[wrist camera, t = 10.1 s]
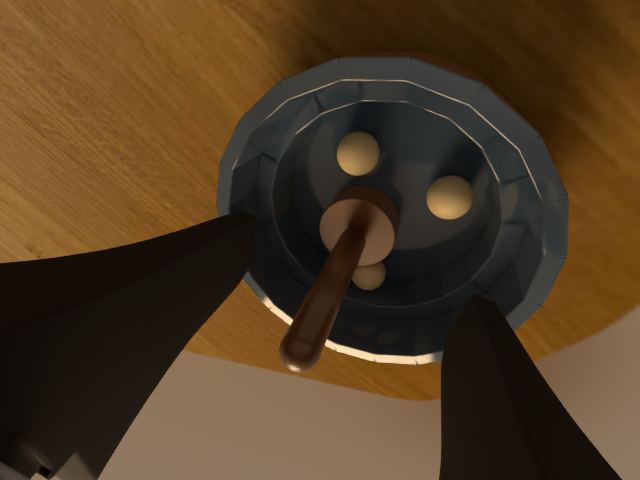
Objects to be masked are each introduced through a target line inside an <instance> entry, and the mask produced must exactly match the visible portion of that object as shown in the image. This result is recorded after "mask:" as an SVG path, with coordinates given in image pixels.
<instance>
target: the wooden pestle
mask: <svg viewBox="0 0 640 480" xmlns="http://www.w3.org/2000/svg"><path fill="white" fill-rule="evenodd" d="M398 228H399V213H398V210H397V208H396V206H395V204H394V203H393V201H392V200H391V199H390V198H389V197H388V196H387V195H386V194H384V193H383V192H382V191H380V190H378V189H375V188H373V187H369V186H353V187H349V188H347V189H344V190H343V191H341V192H340V193H339V194H337V196H336V197H335V198H334V199H333V201H332V202H331V203H330V205H329V206H328V207H327V209H326V210H325V212H324V213H323V215H322V217H321V220H320V235H321V239H322V241H323V243H324V245H325V247H326V248H327V249H328V250H329V252H330V255H329V257H328V259H327V260H326V262H325V264H324V266H323V268H322V269H321V271H320V273H319V275H318V277H317V278H316V280H315V282H314V284H313V286H312V287H311V289H310V291H309V293H308V295H307V296H306V298H305V300H304V302H303V303H302V305H301V307H300V309H299V311H298V312H297V314H296V316H295V318H294V320H293V321H292V323H291V325H290V327H289V329H288V330H287V332H286V334H285V336H284V338H283V339H282V342H281V344H280V348H279V355H280V359H281V362H282V363H283V365H284V366H285V367H286V368H287V369H289V370H290V371H292V372H296V373H303V372H306V371H309V370H310V369H312V368H313V367H314V366H315V365H316V363H317V362H318V360H319V357H320V355H321V352H322V350H323V348H324V345H325V343H326V340H327V338H328V335H329V333H330V330H331V328H332V326H333V323H334V321H335V318H336V316H337V313H338V311H339V308H340V306H341V304H342V301H343V299H344V296H345V294H346V291H347V289H348V286H349V284H350V281H351V279H352V277H353V274H354V272H355V269H356V267H357V266H367V265H372V264H376V263H378V262H380V261H382V260H383V259H384V258H386V257H387V256H388V255H389V253H390V252H391V251H392V248H393V246H394V243H395V239H396V235H397V232H398Z"/></svg>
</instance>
